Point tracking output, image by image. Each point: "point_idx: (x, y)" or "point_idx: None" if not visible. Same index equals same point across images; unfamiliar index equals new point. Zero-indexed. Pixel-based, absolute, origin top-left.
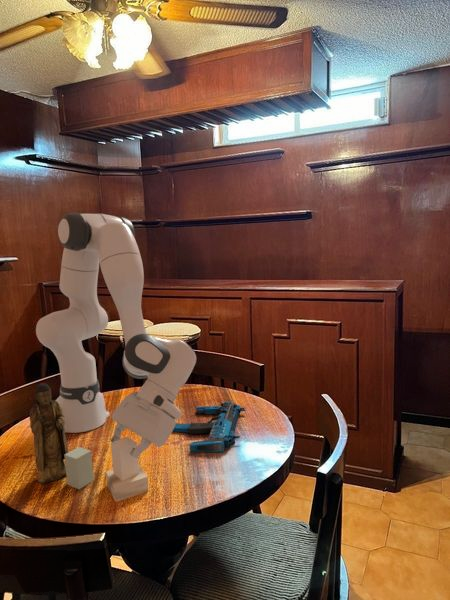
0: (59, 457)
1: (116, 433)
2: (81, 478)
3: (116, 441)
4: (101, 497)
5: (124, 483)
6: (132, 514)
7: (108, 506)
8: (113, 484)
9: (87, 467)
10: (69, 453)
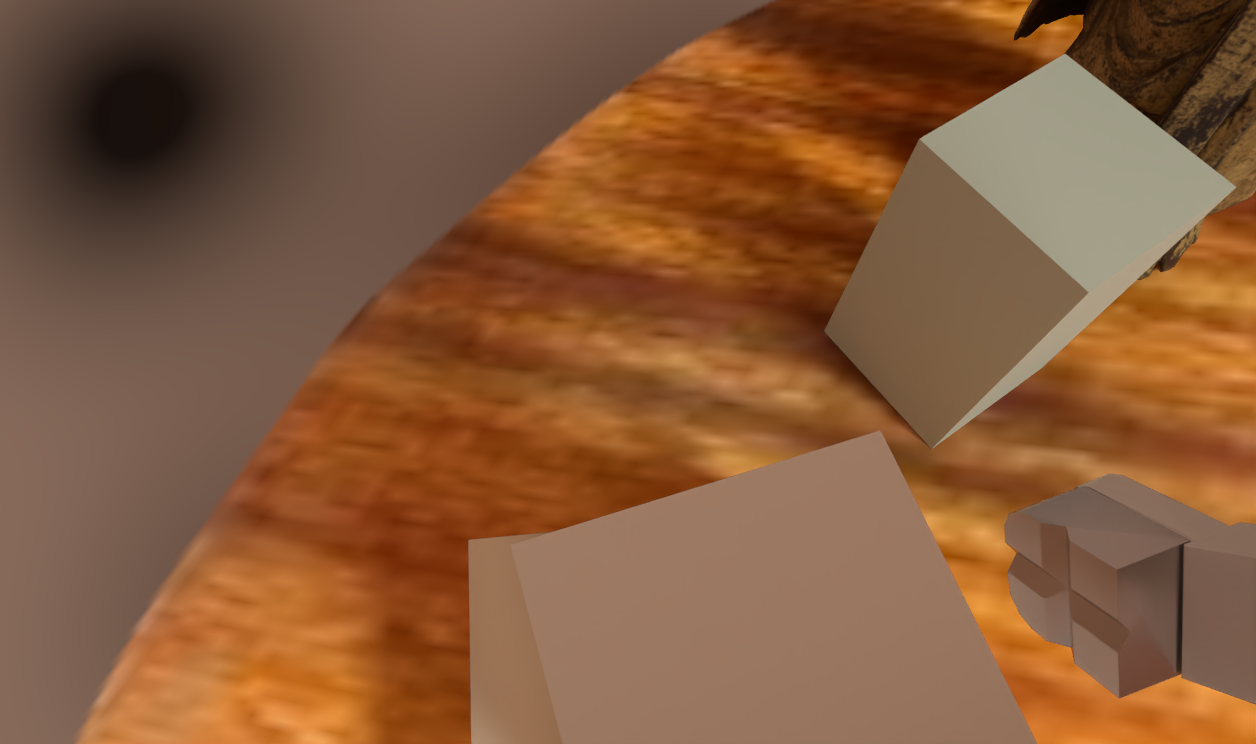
0: (1151, 94)
1: (1249, 586)
2: (870, 311)
3: (902, 542)
4: (623, 475)
5: (487, 662)
6: (211, 692)
7: (458, 511)
8: None
9: (952, 332)
10: (1078, 93)
